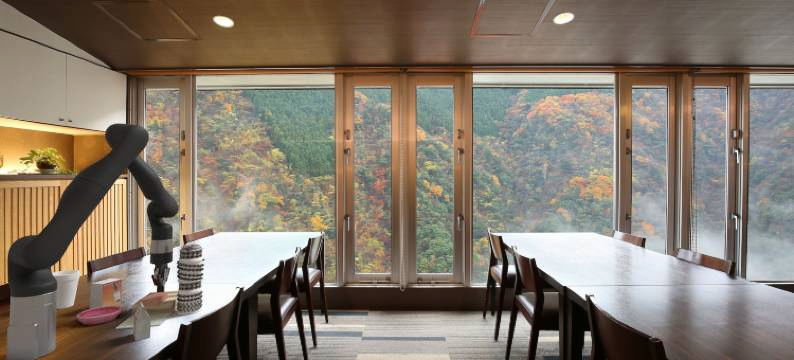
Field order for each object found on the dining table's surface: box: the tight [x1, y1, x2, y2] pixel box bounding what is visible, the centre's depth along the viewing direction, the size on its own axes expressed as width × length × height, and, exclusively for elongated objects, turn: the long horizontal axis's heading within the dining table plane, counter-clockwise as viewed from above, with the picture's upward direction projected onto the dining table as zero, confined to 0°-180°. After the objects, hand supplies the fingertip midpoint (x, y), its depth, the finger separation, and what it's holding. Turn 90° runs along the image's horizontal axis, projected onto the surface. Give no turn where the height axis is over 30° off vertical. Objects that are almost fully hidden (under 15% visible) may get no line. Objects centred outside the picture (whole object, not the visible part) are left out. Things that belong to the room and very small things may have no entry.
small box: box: [89, 277, 123, 309], centre depth 138 cm, size 8×6×10 cm
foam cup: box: [52, 269, 81, 310], centre depth 139 cm, size 10×9×13 cm
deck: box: [131, 290, 178, 316], centre depth 139 cm, size 16×13×4 cm
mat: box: [115, 313, 173, 330], centre depth 125 cm, size 12×13×1 cm
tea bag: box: [132, 302, 152, 342], centre depth 113 cm, size 4×7×10 cm, turn 42°
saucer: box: [76, 306, 123, 326], centre depth 126 cm, size 12×12×3 cm
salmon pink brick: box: [138, 291, 168, 307], centre depth 133 cm, size 9×6×2 cm, turn 12°
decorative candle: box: [176, 244, 205, 316], centre depth 136 cm, size 9×9×25 cm
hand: (160, 294), depth 139 cm, fingers closed
